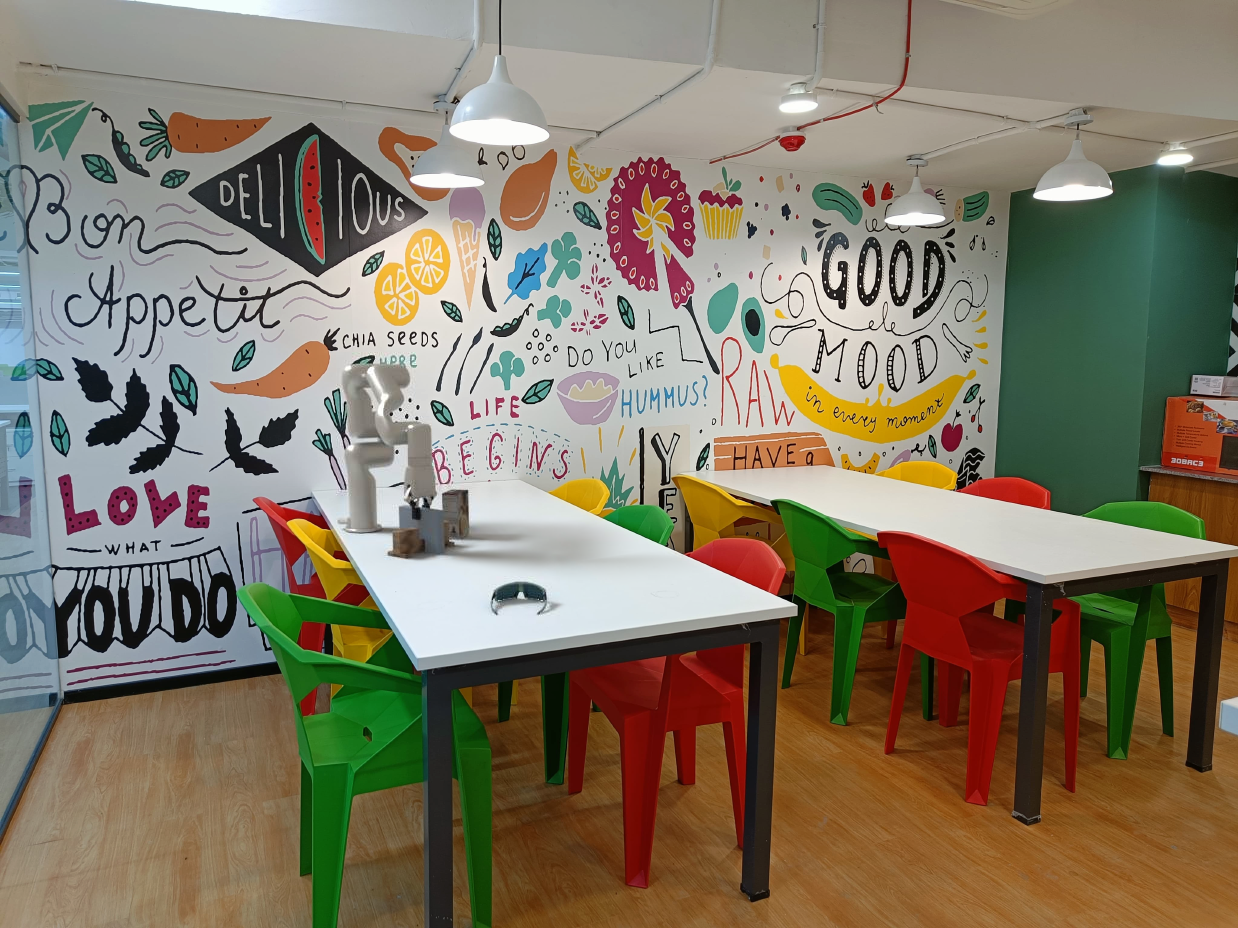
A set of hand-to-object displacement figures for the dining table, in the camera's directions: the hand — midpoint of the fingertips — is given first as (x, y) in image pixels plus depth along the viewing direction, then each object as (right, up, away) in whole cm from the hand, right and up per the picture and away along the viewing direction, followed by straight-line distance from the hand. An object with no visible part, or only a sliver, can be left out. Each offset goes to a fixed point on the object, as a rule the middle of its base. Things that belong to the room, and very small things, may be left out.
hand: (421, 517), depth 276 cm
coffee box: (+7, -8, +23) cm, 25 cm away
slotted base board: (0, -11, +1) cm, 11 cm away
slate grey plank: (0, -11, +1) cm, 11 cm away
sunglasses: (+39, -19, -59) cm, 73 cm away
